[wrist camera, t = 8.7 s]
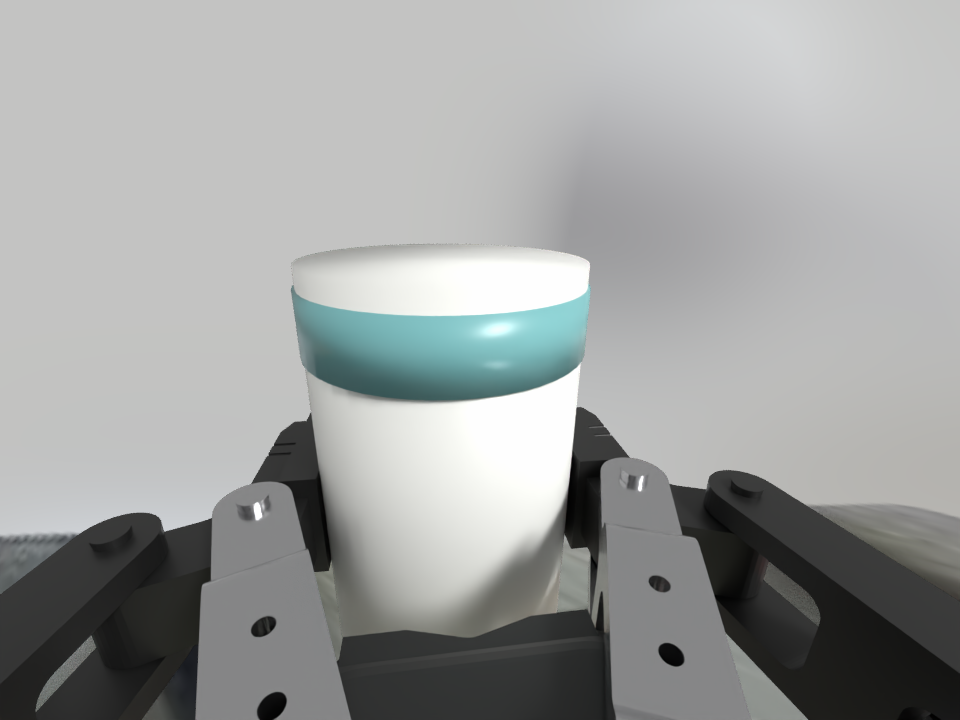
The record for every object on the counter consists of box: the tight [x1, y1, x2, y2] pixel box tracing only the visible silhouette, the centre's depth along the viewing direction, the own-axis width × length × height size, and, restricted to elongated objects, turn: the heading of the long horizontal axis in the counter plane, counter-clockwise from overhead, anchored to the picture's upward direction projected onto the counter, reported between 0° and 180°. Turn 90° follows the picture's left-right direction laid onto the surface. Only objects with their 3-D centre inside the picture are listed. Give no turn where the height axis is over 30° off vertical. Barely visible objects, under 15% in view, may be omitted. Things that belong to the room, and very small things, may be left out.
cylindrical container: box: [291, 244, 591, 640], centre depth 10 cm, size 5×5×11 cm
